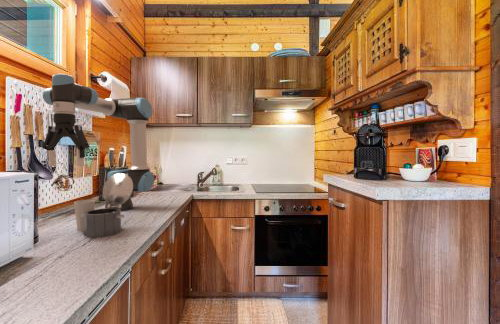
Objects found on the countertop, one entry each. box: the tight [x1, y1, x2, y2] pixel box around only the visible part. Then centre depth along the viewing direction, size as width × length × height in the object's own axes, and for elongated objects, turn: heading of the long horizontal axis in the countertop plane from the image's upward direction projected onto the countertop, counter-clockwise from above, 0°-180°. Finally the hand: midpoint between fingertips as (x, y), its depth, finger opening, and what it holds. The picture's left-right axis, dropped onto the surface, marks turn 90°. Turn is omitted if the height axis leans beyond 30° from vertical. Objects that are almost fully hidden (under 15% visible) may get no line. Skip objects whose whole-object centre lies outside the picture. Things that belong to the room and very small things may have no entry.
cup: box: [73, 199, 96, 232], centre depth 122 cm, size 8×8×12 cm
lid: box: [102, 173, 133, 208], centre depth 125 cm, size 16×15×3 cm
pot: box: [81, 206, 125, 239], centre depth 116 cm, size 15×19×10 cm
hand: (66, 166), depth 113 cm, fingers open, 13 cm apart
